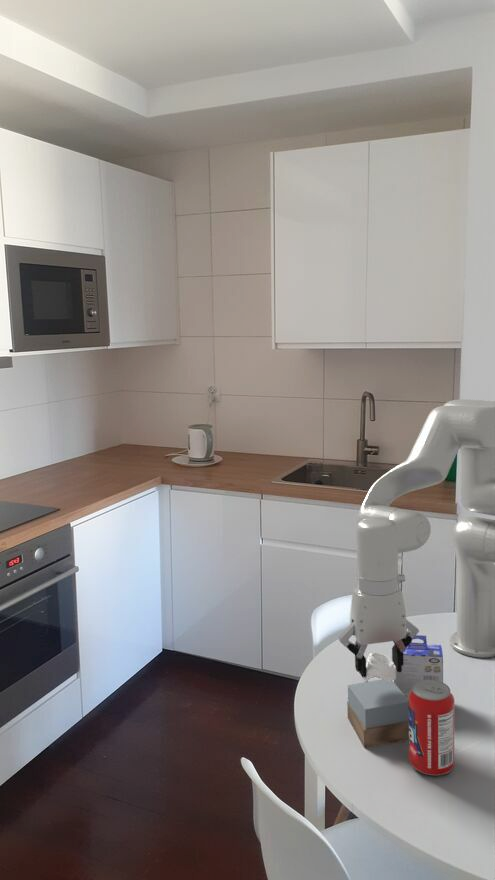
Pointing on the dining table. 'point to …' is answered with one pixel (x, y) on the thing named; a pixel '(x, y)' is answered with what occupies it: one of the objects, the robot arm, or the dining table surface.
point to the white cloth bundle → (380, 667)
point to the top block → (378, 703)
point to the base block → (378, 731)
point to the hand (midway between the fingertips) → (379, 670)
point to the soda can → (431, 727)
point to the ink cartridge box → (419, 665)
